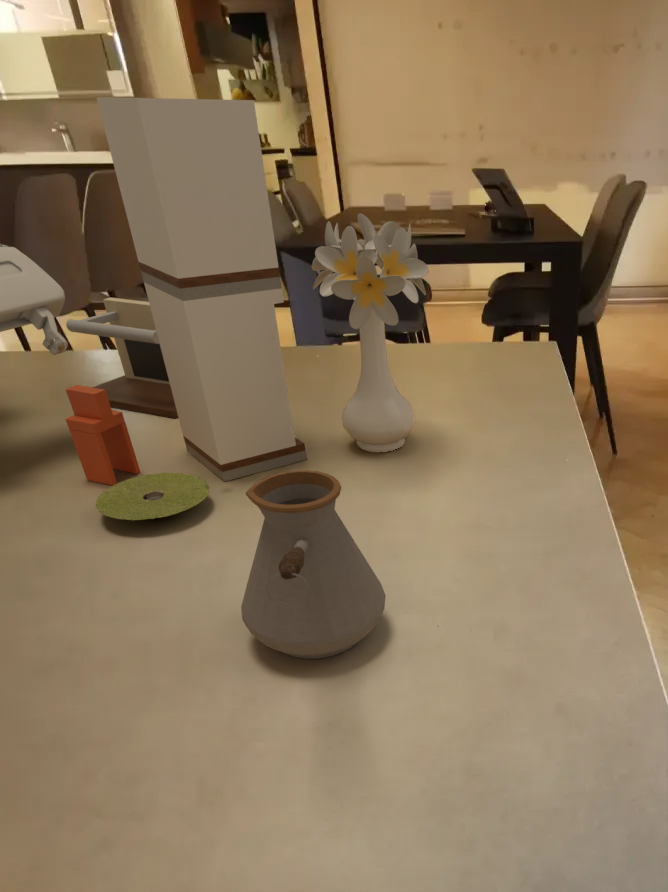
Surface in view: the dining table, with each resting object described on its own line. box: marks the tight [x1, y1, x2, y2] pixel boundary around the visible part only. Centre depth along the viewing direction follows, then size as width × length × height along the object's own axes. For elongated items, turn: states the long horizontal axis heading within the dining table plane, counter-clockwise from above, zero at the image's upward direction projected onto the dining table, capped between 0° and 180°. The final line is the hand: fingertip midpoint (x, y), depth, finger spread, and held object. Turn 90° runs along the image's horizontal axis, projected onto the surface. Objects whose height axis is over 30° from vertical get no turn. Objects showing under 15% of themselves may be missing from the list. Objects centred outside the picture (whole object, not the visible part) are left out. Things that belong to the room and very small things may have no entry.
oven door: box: [65, 297, 179, 419], centre depth 100 cm, size 11×18×12 cm, turn 68°
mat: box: [95, 472, 210, 521], centre depth 74 cm, size 11×11×2 cm
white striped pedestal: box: [96, 96, 308, 482], centre depth 76 cm, size 11×11×35 cm
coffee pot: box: [240, 469, 387, 660], centre depth 50 cm, size 21×12×15 cm, turn 11°
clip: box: [65, 384, 141, 486], centre depth 79 cm, size 4×4×10 cm
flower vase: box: [311, 213, 430, 454], centre depth 82 cm, size 13×18×25 cm
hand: (26, 361), depth 76 cm, fingers open, 8 cm apart
